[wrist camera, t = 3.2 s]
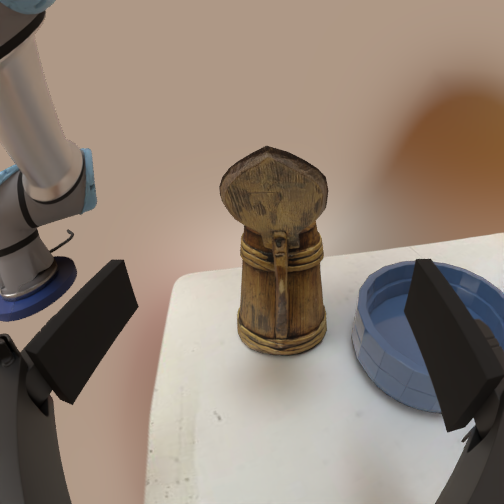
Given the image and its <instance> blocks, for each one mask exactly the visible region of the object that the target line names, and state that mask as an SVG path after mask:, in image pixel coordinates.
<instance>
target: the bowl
mask: <svg viewBox="0 0 504 504" xmlns="http://www.w3.org/2000/svg"><path fill="white" fill-rule="evenodd" d="M433 263H434V264H435V265H436V266H437V268H438V269H439V270H440V272H441V273H442V274H443V276H444V277H445V278H446V280H447V281H448V282H449V284H450V285H451V286H452V288H453V289H454V291H455V292H456V293H457V295H458V296H459V298H460V299H461V300H462V302H463V303H464V305H465V306H466V308H467V309H468V311H469V312H470V314H471V315H472V317H473V318H474V319H480V320H481V321H483V322H484V323H485V324H486V325H487V326H488V327H489V328H490V330H491V331H492V333H493V334H494V336H495V338H496V339H497V341H498V342H499V346H501V347H502V349H503V351H504V294H503V292H502V291H501V290H500V289H498V288H497V287H495V286H494V285H493V284H491V283H490V282H488V281H487V280H486V279H484V278H483V277H481V276H479V275H476V274H474V273H472V272H470V271H468V270H466V269H463V268H460V267H456V266H453V265H449V264H446V263H439V262H433ZM414 266H415V261H404V262H399V263H396V264H392V265H388V266H384V267H382V268H381V269H379V270H378V271H376V272H374V273H373V274H371V275H369V277H368V278H367V279H366V281H365V282H364V284H363V285H362V286H361V288H360V290H359V295H358V301H357V307H356V313H355V319H354V325H353V332H352V341H353V345H354V348H355V352H356V355H357V359H358V361H359V362H360V364H361V365H362V367H363V369H364V370H365V372H366V373H367V375H368V376H369V377H370V379H371V380H372V381H373V382H374V383H375V384H376V385H377V386H378V387H379V388H380V389H381V390H382V391H384V392H385V393H386V394H387V395H389V396H390V397H392V398H393V399H395V400H396V401H398V402H400V403H403V404H405V405H407V406H409V407H412V408H415V409H418V410H422V411H427V412H436V413H442V412H441V409H440V406H439V403H438V399H437V396H436V393H435V390H434V387H433V384H432V381H431V379H430V376H429V373H428V370H427V367H426V365H425V362H424V359H423V357H422V354H421V352H420V349H419V347H418V344H417V342H416V339H415V337H414V334H413V332H412V329H411V327H410V325H409V322H408V320H407V318H406V316H405V313H404V308H405V304H406V300H407V297H408V292H409V288H410V284H411V280H412V275H413V271H414Z"/></svg>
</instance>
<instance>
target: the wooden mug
mask: <svg viewBox="0 0 504 504" xmlns="http://www.w3.org/2000/svg"><path fill="white" fill-rule="evenodd" d="M220 196H221V199H222V202H223V204H224V205H225V207H226V208H227V210H228V211H229V213H230V214H231V215H232V216H233V217H234V219H236V220H237V221H239V222H240V223H242V224H243V225H244V233H243V235H242V237H241V250H240V255H241V257H242V259H243V265H242V285H241V303H240V308H239V310H238V314H237V324H238V334H239V336H240V338H241V340H242V342H244V343H245V344H246V345H247V346H248V347H249V348H250V349H253V350H256V351H258V352H261V353H267V354H272V355H292V354H297V353H301V352H303V351H306V350H308V349H311V348H312V347H314V346H315V345H316V344H318V343H319V342H320V341H321V340H322V338H323V336H324V334H325V332H326V331H327V324H326V311H325V307H324V305H323V297H322V285H321V273H320V262H321V261H322V259H323V256H324V253H323V245H322V238H321V236H320V234H319V232H318V231H317V226H316V220H317V218H318V217H319V216H320V215H321V214H322V212H323V211H324V210H325V208H326V204H327V197H328V186H327V181H326V177H325V176H324V175H323V174H322V173H321V172H320V171H319V169H317V168H316V167H314V166H313V165H311V164H310V163H308V162H307V161H305V160H303V159H301V158H299V157H297V156H295V155H293V154H291V153H289V152H286V151H283V150H279V149H276V148H272V147H269V146H265V147H263V148H261V149H259V150H257V151H255V152H253V153H251V154H250V155H248V156H246V157H245V158H243V159H241V160H240V161H238V162H237V163H235V164H234V165H233V166H231V167H230V168H229V169H228V171H227V172H226V173H225V174H224V176H223V177H222V180H221V183H220Z"/></svg>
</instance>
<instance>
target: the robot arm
mask: <svg viewBox="0 0 504 504" xmlns="http://www.w3.org/2000/svg"><path fill="white" fill-rule="evenodd" d="M54 2H55V0H0V143H1V144H2V146H3V147H4V149H5V150H6V152H7V153H8V154H9V156H10V157H11V159H12V160H13V161H14V163H15V165H13V166H11V167H9V168H7V169H5V170H3V171H1V172H0V294H1V297H2V299H3V300H5V301H8V302H14V301H19V300H22V299H25V298H28V297H30V296H32V295H34V294H36V293H37V292H39V291H41V290H42V289H44V288H45V287H46V286H47V285H49V284H50V283H51V282H52V281H53V280H54V278H55V277H56V276H57V274H58V271H59V268H58V265H57V263H56V261H55V259H54V257H53V256H52V255H51V253H52V252H54V251H56V250H57V249H59V248H60V247H62V246H63V245H65V244H66V243H68V242H69V241H70V240H71V239H72V238H73V236H74V233H73V232H71V231H70V230H67V232H68V233H69V234H71V236H70V237H69V238H68V239H67V240H65V241H64V242H62V243H61V244H59V245H58V246H56V247H55V248H53V249H51V250H48V249H47V247H46V246H45V245H44V243H43V242H42V240H41V239H40V237H39V234H38V230H37V227H39V226H42V225H45V224H48V223H51V222H54V221H57V220H61V219H64V218H67V217H71V216H74V215H77V214H80V215H81V214H83V213H84V212H86V211H89V210H92V209H94V208H95V206H96V204H97V197H96V190H95V181H94V171H93V162H92V153H91V150H90V149H89V148H87V149H84V148H82V149H79V147H78V146H77V145H76V144H75V143H74V142H72V141H70V140H68V139H66V137H65V135H64V132H63V130H62V127H61V124H60V122H59V119H58V116H57V113H56V111H55V108H54V105H53V102H52V99H51V95H50V93H49V89H48V86H47V83H46V79H45V76H44V72H43V69H42V65H41V61H40V57H39V53H38V49H37V45H36V40H35V36H34V35H35V34H36V32H37V31H38V30H39V28H40V27H41V26H42V24H43V22H44V20H45V17H46V12H45V10H46V9H47V8H48V7H50V6H51V5H52V4H53V3H54ZM137 308H138V304H137V301H136V298H135V295H134V292H133V289H132V286H131V283H130V279H129V276H128V273H127V269H126V266H125V262H124V260H111V261H110V262H109V263H107V265H105V266H104V267H103V268H102V269H101V270H100V271H99V272H98V273H97V274H96V275H95V276H94V277H93V278H92V279H90V281H88V282H87V283H86V284H85V285H84V286H83V287H82V288H81V289H80V290H79V291H78V292H77V293H76V294H75V295H74V296H73V297H72V298H71V299H70V300H69V301H68V302H67V303H66V304H65V305H64V307H63V308H62V309H61V310H60V311H59V312H58V313H57V314H56V315H54V316H53V317H52V318H51V319H50V320H49V321H48V322H47V323H46V325H45V326H44V327H43V328H42V329H41V331H39V332H38V333H37V334H36V335H35V336H34V338H33V339H32V340H31V341H30V342H29V343H28V344H27V346H26V347H25V348H24V349H23V350H22V351H21V352H19V351H18V349H17V347H16V346H15V344H14V342H13V341H12V339H11V337H10V336H9V335H8V334H0V504H72V503H71V500H70V496H69V492H68V489H67V485H66V481H65V476H64V472H63V467H62V462H61V457H60V452H59V446H58V440H57V433H56V425H55V416H54V405H53V399H52V397H51V396H50V393H51V391H52V390H53V391H54V392H55V394H56V395H57V396H58V397H59V399H60V400H62V401H65V402H67V403H69V404H72V405H73V403H74V402H75V400H76V398H77V397H78V395H79V394H80V392H81V391H82V389H83V387H84V386H85V384H86V383H87V381H88V380H89V378H90V377H91V375H92V373H93V372H94V370H95V369H96V367H97V366H98V364H99V363H100V361H101V360H102V358H103V357H104V355H105V354H106V352H107V351H108V349H109V348H110V346H111V345H112V344H113V342H114V341H115V339H116V338H117V336H118V335H119V333H120V332H121V331H122V329H123V328H124V326H125V325H126V323H127V322H128V321H129V319H130V318H131V317H132V315H133V314H134V312H135V311H136V310H137ZM404 313H405V316H406V318H407V320H408V322H409V325H410V327H411V329H412V332H413V334H414V337H415V339H416V342H417V344H418V347H419V349H420V352H421V354H422V357H423V359H424V362H425V365H426V367H427V370H428V373H429V376H430V379H431V381H432V384H433V387H434V390H435V393H436V396H437V399H438V403H439V406H440V409H441V412H442V416H443V419H444V423H445V426H446V430H447V432H450V431H454V430H457V429H461V428H464V427H466V425H467V424H468V423H469V422H470V421H471V420H472V418H473V417H474V420H475V423H476V425H475V426H474V427H473V428H472V429H471V430H470V431H469V433H468V434H467V435H466V436H465V437H464V438H463V440H462V441H461V442H463V443H464V442H465V441H466V439H467V438H468V437H469V438H468V440H467V443H466V445H465V447H464V450H463V452H462V454H461V456H460V458H459V460H458V463H457V465H456V467H455V469H454V471H453V473H452V474H451V476H450V478H449V480H448V482H447V484H446V486H445V487H444V489H443V491H442V493H441V494H440V496H439V498H438V499H437V501H436V503H435V504H504V351H503V349H502V347H501V346H499V342H498V341H497V339H496V338H495V336H494V334H493V333H492V331H491V330H490V328H489V327H488V326H487V325H486V324H485V323H484V322H483V321H481V320H480V319H474V318H473V317H472V315H471V314H470V312H469V311H468V309H467V308H466V306H465V305H464V303H463V302H462V300H461V299H460V298H459V296H458V295H457V293H456V292H455V291H454V289H453V288H452V286H451V285H450V284H449V282H448V281H447V280H446V278H445V277H444V276H443V274H442V273H441V272H440V270H439V269H438V268H437V266H436V265H435V264H434V263H433V261H432V260H431V259H416V261H415V266H414V271H413V275H412V280H411V284H410V288H409V292H408V297H407V300H406V304H405V308H404Z"/></svg>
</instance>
